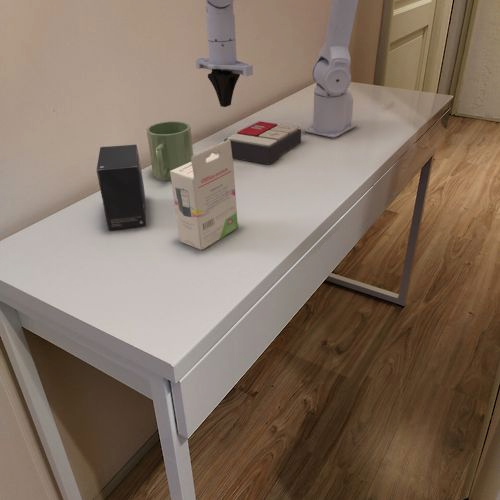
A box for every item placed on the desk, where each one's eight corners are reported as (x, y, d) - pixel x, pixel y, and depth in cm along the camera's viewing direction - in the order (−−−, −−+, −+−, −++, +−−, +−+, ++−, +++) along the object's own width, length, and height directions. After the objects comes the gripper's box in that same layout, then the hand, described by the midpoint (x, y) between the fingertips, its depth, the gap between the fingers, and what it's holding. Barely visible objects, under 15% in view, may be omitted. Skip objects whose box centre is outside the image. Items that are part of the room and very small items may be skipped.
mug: (160, 163, 104) (154, 120, 99) (199, 164, 102) (195, 121, 98) (141, 186, 94) (134, 140, 90) (183, 188, 93) (178, 141, 88)
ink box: (215, 219, 82) (208, 131, 74) (239, 228, 79) (233, 138, 72) (177, 241, 77) (165, 149, 69) (200, 252, 74) (190, 156, 66)
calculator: (302, 125, 110) (270, 143, 98) (301, 144, 112) (269, 164, 101) (258, 119, 115) (223, 136, 103) (258, 137, 117) (223, 156, 105)
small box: (148, 226, 81) (138, 165, 75) (107, 231, 80) (94, 170, 74) (146, 198, 90) (137, 142, 84) (109, 203, 89) (98, 146, 83)
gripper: (183, 39, 105) (189, 104, 112) (235, 45, 97) (238, 115, 104) (206, 34, 109) (211, 97, 116) (258, 40, 101) (260, 107, 108)
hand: (225, 105), depth 110 cm, fingers closed
